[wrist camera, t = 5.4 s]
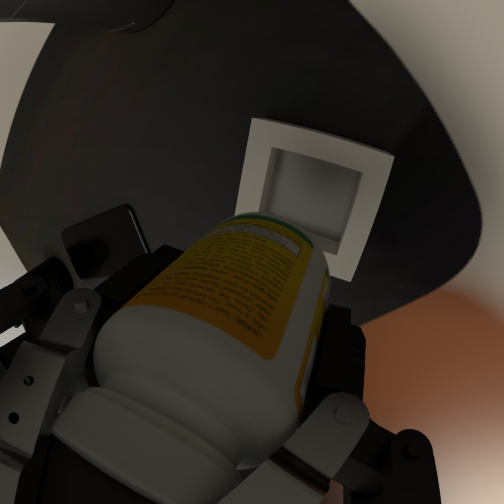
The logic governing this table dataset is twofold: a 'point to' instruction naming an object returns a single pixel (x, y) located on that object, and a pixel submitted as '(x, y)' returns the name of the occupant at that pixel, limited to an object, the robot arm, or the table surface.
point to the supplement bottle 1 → (52, 277)
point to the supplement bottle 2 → (205, 364)
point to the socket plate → (315, 186)
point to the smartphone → (105, 243)
